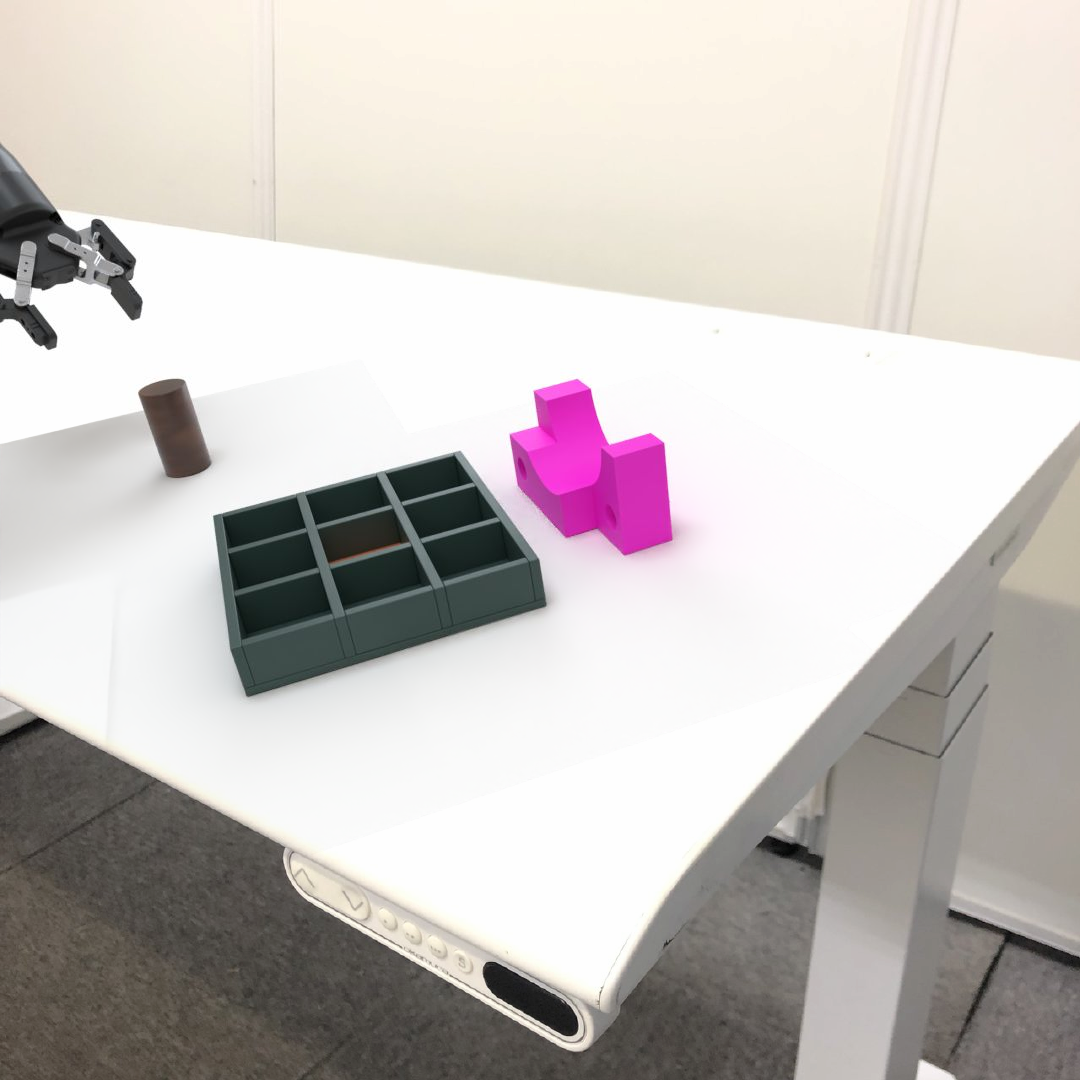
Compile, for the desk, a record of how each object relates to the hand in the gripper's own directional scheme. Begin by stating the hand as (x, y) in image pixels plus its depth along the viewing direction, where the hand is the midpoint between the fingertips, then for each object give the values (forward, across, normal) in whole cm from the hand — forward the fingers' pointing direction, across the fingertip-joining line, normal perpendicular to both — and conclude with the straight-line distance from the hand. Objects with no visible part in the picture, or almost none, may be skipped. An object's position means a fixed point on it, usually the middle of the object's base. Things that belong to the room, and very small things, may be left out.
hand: (97, 328), depth 96 cm
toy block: (+43, +10, -25) cm, 51 cm away
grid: (+38, -5, -20) cm, 43 cm away
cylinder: (+15, 0, +2) cm, 15 cm away
